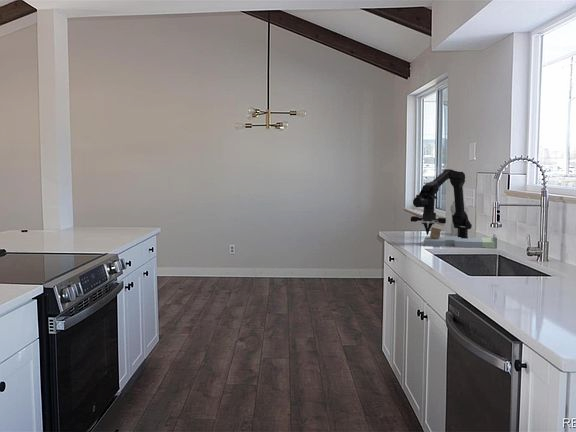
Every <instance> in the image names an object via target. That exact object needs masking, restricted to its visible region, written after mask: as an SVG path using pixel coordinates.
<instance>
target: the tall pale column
mask: <svg viewBox="0 0 576 432" xmlns="http://www.w3.org/2000/svg"><path fill="white" fill-rule="evenodd" d="M469 207H470V206H469V205H468V203H467V200H464V211H465V213H466V214H467V215H468V212H469ZM450 213H451V216H452V215H454V214H455V200H453V201H452V204H451V205H450ZM452 220H453V219H452V218H451V224H450V236H452V237H457V234H458V228H454V224H453V222H452ZM460 227H463V226H460Z"/></svg>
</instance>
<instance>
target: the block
mask: <svg viewBox="0 0 576 432" xmlns="http://www.w3.org/2000/svg"><path fill="white" fill-rule="evenodd" d="M441 232H442V229H440V228H437V227H436V228H435V227H431V228H430V234H429V236H430V238H435V239H439V237H441Z"/></svg>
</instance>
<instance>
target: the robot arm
mask: <svg viewBox="0 0 576 432" xmlns="http://www.w3.org/2000/svg"><path fill="white" fill-rule="evenodd" d="M447 180H449V183H450V184H451V187H452V188H453V198H454V201H455V214H454V215H452V214H451V223H452V222H453V224H454V228H458V234H457V236H456V237H461V238H465V239H469V237H468V235H469V230H471V229H472V223H471V222H470V220H469V217H468V214H466V213H465V211H464V201H465V200H464V190H463V189H464V188H463V186H464V185H465V183H466V175H465V173H464V171H457V170H454V169H450V168H449V169H448V168H447V169H443V171H442V172H441V173H440V174H439V175H438V176H437V177H436V178H434V179H433V180H431V181H429V182H427V183H424V184H423V186H422V187H421V190H420V192H419V193H418V194H416V195H415V197H414V198H413V199H412V205H413V206H414V207H415V208H423V210H422V217H419V215H418V216H417V215H411V217H410V222H415V223H417V222H418V221H419V222H421V224H423V227H424V229H425V232H426V235H427V236H429V232H431V229H432V226H433V225H435V223H439V224H447V218H446V217H442V216H441V217H438V218H437V212H435V201H436V200H437V199H438V197H437V196H436V194H437V193H438V191H439V190H440V187H441V186H442V185H443V184H444V183H445V182H447ZM452 219H453V220H452ZM460 226H463V227H460Z"/></svg>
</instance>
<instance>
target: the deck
mask: <svg viewBox="0 0 576 432" xmlns="http://www.w3.org/2000/svg"><path fill="white" fill-rule="evenodd" d="M441 246H453V247H452V248H473V247H485V248H484V249H497V248H498V237H497V235H496V233H493V235H492V237H469V238H468V239H465V238H461V237H457V236H440V237H439V239H435V238H430V235H427V236H425V237H424V239H423V247H441Z"/></svg>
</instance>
